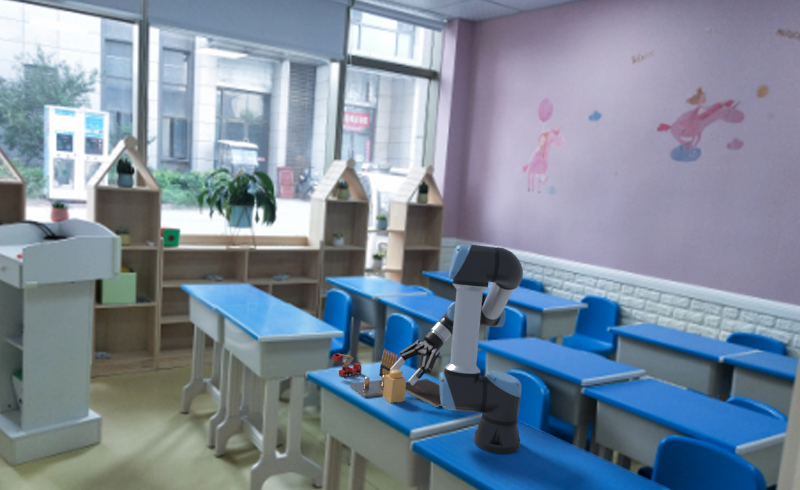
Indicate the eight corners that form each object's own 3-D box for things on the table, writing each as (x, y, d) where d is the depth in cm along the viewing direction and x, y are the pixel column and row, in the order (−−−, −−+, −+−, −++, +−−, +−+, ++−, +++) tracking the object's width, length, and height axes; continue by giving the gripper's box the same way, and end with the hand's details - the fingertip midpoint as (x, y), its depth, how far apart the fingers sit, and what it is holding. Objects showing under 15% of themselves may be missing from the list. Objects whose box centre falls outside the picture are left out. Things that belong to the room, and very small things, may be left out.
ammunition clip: (397, 383, 252) (400, 354, 251) (393, 383, 251) (396, 355, 249) (382, 374, 260) (385, 347, 259) (379, 375, 259) (381, 347, 258)
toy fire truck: (362, 374, 258) (364, 352, 257) (335, 378, 250) (337, 355, 249) (357, 372, 261) (359, 350, 260) (330, 376, 252) (332, 353, 251)
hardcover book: (435, 409, 228) (436, 403, 228) (397, 389, 246) (398, 383, 246) (465, 402, 238) (466, 397, 238) (427, 383, 256) (427, 378, 256)
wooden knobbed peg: (404, 401, 232) (407, 373, 230) (390, 403, 228) (393, 374, 227) (396, 395, 237) (398, 368, 235) (382, 397, 234) (385, 369, 232)
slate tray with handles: (399, 393, 240) (401, 379, 239) (364, 397, 232) (365, 383, 231) (384, 383, 250) (386, 370, 249) (349, 386, 242) (351, 373, 241)
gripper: (460, 352, 231) (423, 394, 225) (424, 334, 253) (390, 372, 247) (450, 339, 228) (413, 382, 222) (415, 322, 249) (380, 361, 243)
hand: (400, 377), depth 234 cm, fingers open, 13 cm apart
